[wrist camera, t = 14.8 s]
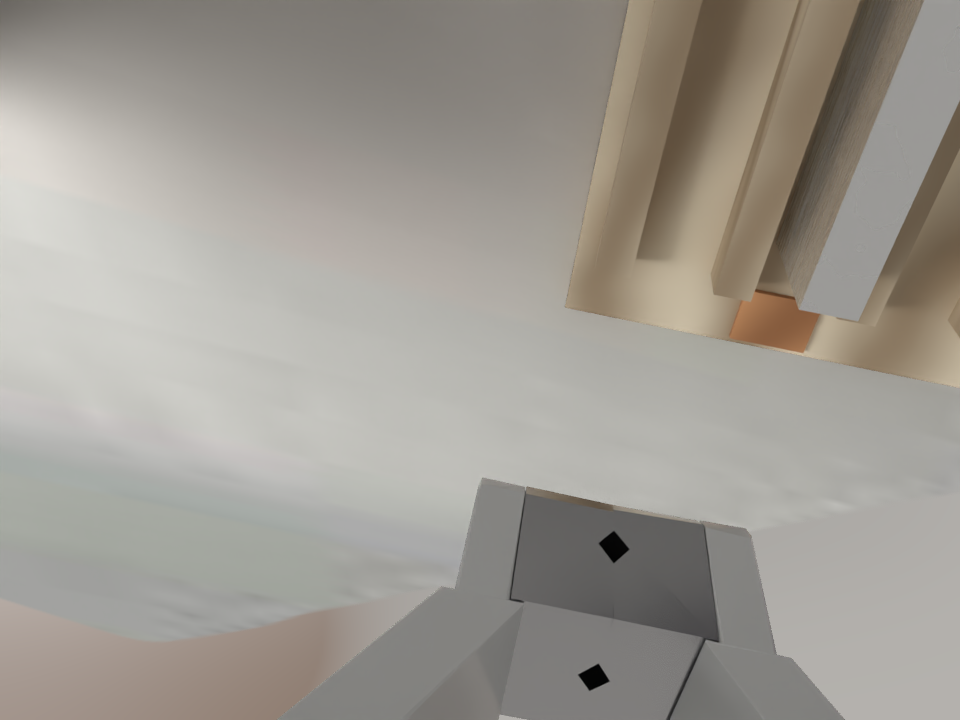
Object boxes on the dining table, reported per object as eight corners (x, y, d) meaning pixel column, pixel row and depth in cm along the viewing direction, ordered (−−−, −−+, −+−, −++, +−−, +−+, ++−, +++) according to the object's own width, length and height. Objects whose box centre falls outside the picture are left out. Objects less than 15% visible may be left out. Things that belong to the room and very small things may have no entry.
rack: (567, 297, 35) (560, 328, 33) (696, -324, 23) (701, -350, 21) (965, 378, 33) (990, 417, 31) (1329, -252, 21) (1417, -271, 19)
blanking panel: (900, -96, 24) (962, -93, 19) (964, -87, 24) (1043, -82, 19) (776, 242, 31) (798, 309, 26) (825, 252, 31) (858, 321, 26)
